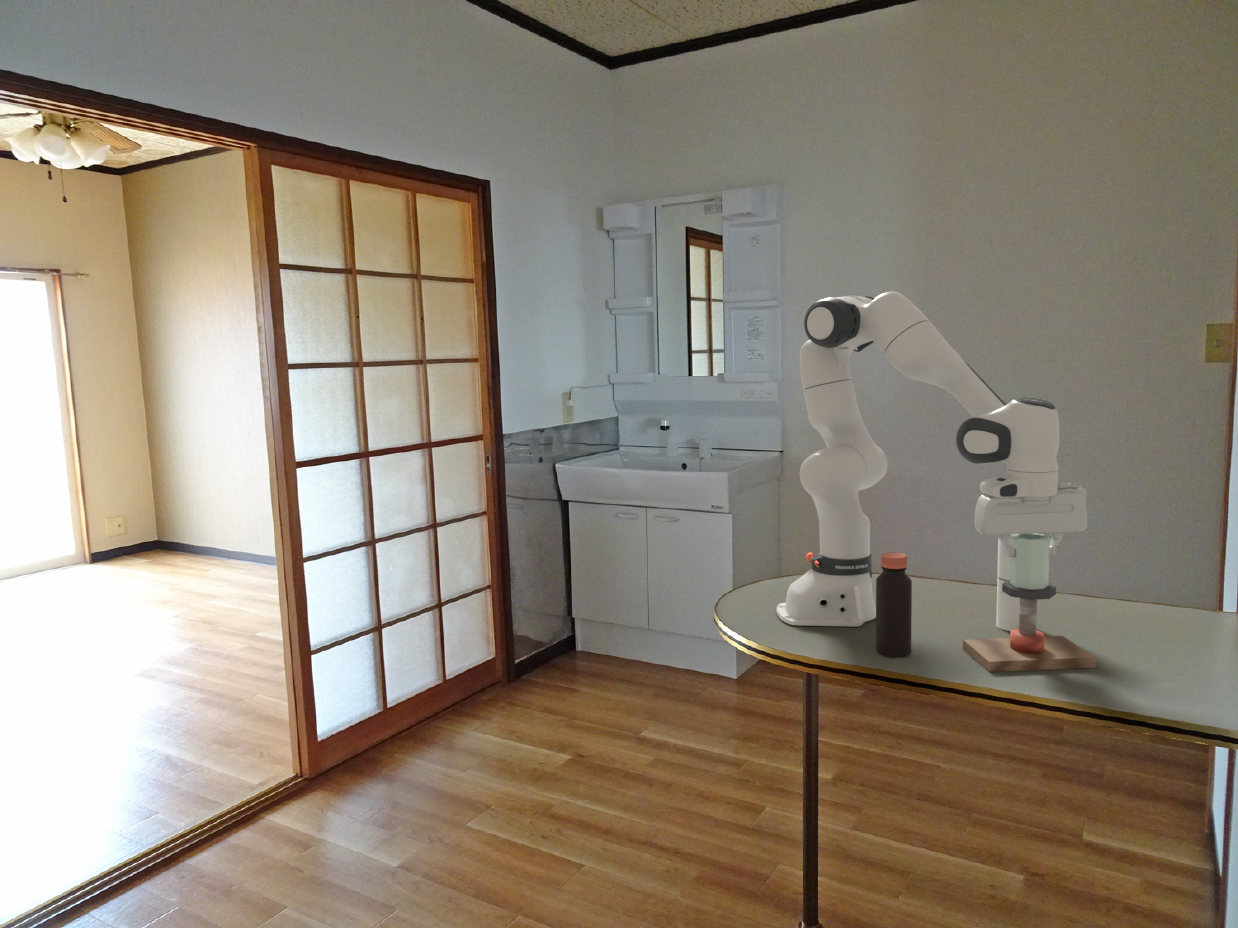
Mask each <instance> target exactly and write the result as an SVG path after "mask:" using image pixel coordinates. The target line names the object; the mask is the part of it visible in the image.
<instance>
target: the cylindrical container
mask: <svg viewBox="0 0 1238 928" xmlns="http://www.w3.org/2000/svg"><path fill="white" fill-rule="evenodd" d="M1011 535H1013V534H1011ZM997 540H998V541H997V575H996V576H997V578H996V579H997V581H996V582H997V583H996V585H997V587H996V620H995V621H996V623H995V626H996V627H997V628H998V629H1000V630H1004V631H1008V632H1010V631H1011V630H1013V629H1017V628H1019V612H1020V598H1017V597H1011V596H1009V595H1008V594H1006V593H1004V592H1003V591H1002V583H1004V582H1006V581H1008V580H1009V579H1010V557H1006V556H1005V555H1004V546H1003V545H1002V543H1001V541H1000V540H999V538H998V539H997ZM1008 542H1009V544H1010V546H1011V539H1010V540H1008Z"/></svg>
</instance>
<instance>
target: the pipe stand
mask: <svg viewBox="0 0 1238 928" xmlns="http://www.w3.org/2000/svg"><path fill="white" fill-rule="evenodd" d="M1037 609H1038V600H1028V599H1023V598H1020V612H1019V628H1017V629H1013V630H1011V631H1009V632H1010V637H1000V638H999V637H998V638H973V639H963V640H962V650H963V651H964V652H965V653H966V654H968V655H969V656H970V658H972V659H973V660H975V661H976V662H977V663H978V664H979V665H980V666H982V667H983V668H984V669H985V670H986V671H987V672H988V673H992V672H993V673H994V672H995V673H997V672H1021V671H1041V670H1042V671H1043V670H1045V671H1046V670H1068V669H1070V670H1071V669H1090V668H1091V669H1092V668H1096V661H1097V659H1096V656H1094V655H1093V654H1091V653H1090V652H1088V651H1086V650H1085V649H1084V648H1082V647H1080V646H1079V645H1077V644H1076V643H1075V642H1073V641H1072V640H1070V639H1069V638H1067V637H1065V636H1064V635H1050V636H1046V635H1045V633H1044V632H1042V631H1041V630H1038V629H1037V617H1038V615H1037V614H1038V610H1037Z"/></svg>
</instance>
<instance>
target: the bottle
mask: <svg viewBox="0 0 1238 928" xmlns="http://www.w3.org/2000/svg"><path fill="white" fill-rule="evenodd" d="M880 566H881V567H880V568H881V570H882V572H881V573H880V574H879V575H878V576H877V577H876V580H875V608H876V618H875V651H876V653H877V654H879V655H881V656H883V657H886V658H887V657H888V658H894V657H900V658H905V657H908V656H910V654H911V653H912V612H913V611H912V608H913V607H912V606H913V605H912V603H913V602H912V598H913V595H912V592H913V584H912V583H913V581H912V579H911V577H909V575H908V574H907V573H906V570H907V568H908V556H907V554H905V553H903V552H897V551H896V552H894V551H893V552H884V553H881V555H880Z"/></svg>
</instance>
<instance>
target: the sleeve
mask: <svg viewBox="0 0 1238 928" xmlns="http://www.w3.org/2000/svg"><path fill="white" fill-rule="evenodd" d="M1050 540H1051V536H1048V535H1046V534H1045V533H1034V534H1013V535H1011V546H1012V547H1014V548H1016V552H1015V554H1016V556H1015V557H1010V584H1011V585H1013V586H1015V587H1017V588H1023V589H1029V590H1033V589H1044V588H1046V587H1048V583H1050V582H1049V577H1050V575H1049V574H1050V556H1049V552H1050Z"/></svg>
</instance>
